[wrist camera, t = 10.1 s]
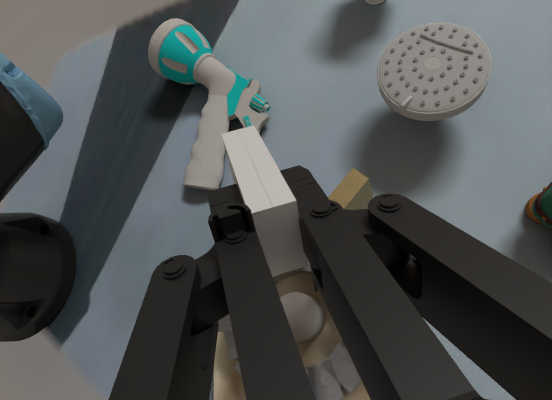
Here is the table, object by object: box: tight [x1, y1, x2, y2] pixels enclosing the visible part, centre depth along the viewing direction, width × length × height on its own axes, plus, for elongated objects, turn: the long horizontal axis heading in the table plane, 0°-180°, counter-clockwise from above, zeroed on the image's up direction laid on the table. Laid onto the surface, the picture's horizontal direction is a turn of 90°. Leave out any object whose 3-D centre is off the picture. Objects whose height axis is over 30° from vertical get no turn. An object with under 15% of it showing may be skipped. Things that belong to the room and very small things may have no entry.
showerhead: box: [377, 23, 492, 121], centre depth 37 cm, size 9×7×10 cm
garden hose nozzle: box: [148, 19, 270, 191], centre depth 46 cm, size 7×18×20 cm
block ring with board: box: [218, 168, 373, 400], centre depth 30 cm, size 18×14×14 cm
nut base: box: [214, 272, 371, 400], centre depth 36 cm, size 18×16×4 cm
